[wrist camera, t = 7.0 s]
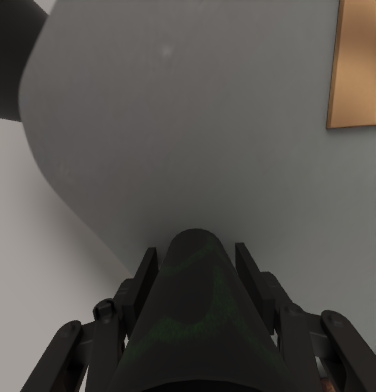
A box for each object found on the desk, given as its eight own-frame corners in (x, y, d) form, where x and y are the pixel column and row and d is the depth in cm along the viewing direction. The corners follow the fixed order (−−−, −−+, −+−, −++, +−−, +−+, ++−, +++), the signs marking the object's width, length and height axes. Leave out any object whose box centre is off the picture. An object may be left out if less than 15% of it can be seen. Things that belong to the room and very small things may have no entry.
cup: (216, 205, 16) (281, 339, 5) (245, 270, 18) (347, 495, 6) (144, 236, 17) (42, 413, 5) (177, 295, 19) (154, 532, 7)
